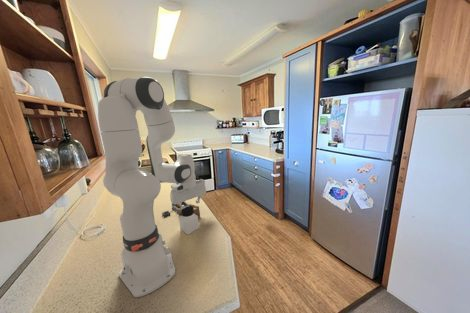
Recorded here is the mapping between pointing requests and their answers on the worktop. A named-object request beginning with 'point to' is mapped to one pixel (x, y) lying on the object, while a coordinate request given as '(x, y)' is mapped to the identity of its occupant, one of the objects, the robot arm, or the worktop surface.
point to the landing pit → (179, 207)
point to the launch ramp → (196, 210)
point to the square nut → (166, 213)
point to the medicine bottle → (188, 220)
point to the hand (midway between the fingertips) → (190, 205)
